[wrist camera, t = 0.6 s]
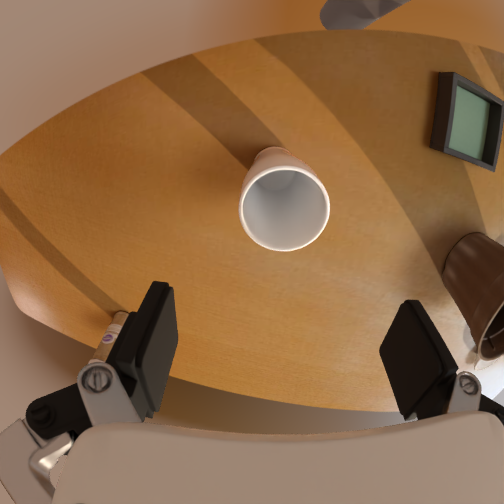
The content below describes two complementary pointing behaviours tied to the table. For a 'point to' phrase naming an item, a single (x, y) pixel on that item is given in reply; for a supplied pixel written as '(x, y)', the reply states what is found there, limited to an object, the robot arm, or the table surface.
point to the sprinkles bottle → (109, 337)
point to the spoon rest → (482, 363)
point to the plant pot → (479, 290)
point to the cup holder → (467, 121)
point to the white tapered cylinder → (282, 201)
